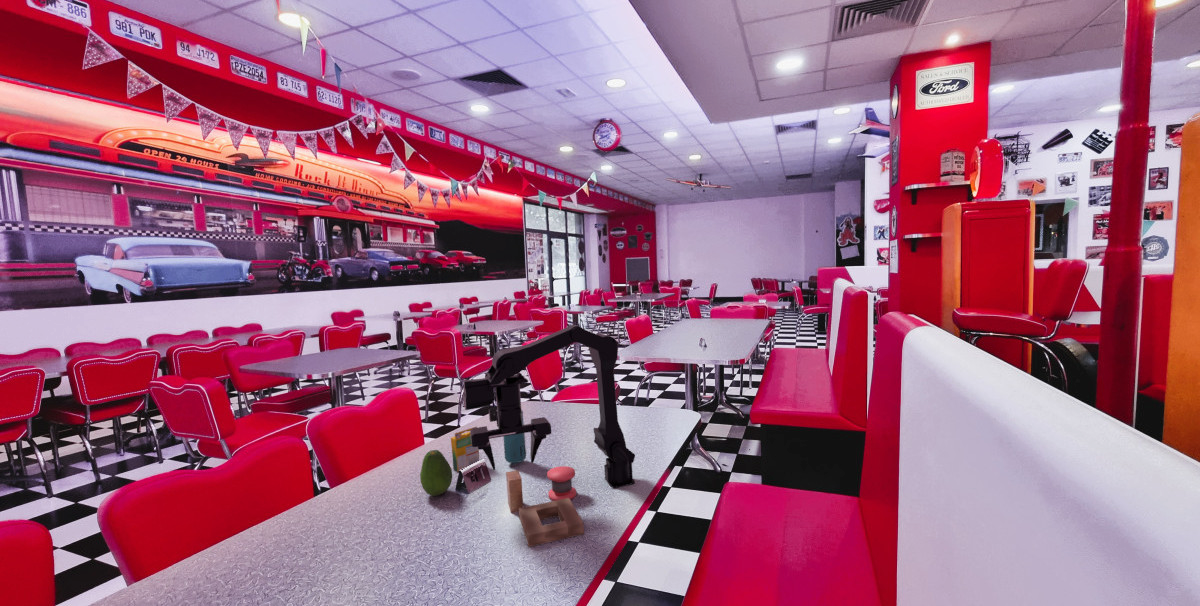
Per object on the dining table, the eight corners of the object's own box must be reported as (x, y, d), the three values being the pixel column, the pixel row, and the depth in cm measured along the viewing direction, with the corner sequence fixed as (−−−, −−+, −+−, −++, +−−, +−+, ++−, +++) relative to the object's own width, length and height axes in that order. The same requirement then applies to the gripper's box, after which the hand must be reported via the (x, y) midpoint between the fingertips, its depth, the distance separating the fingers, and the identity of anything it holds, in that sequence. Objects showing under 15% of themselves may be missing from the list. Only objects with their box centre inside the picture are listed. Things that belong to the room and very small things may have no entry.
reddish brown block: (520, 500, 119) (518, 470, 118) (523, 510, 114) (521, 478, 113) (508, 503, 118) (505, 472, 117) (511, 513, 113) (508, 480, 112)
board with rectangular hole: (569, 507, 114) (568, 497, 114) (583, 533, 103) (583, 522, 102) (519, 518, 110) (518, 508, 110) (528, 547, 99) (528, 535, 99)
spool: (572, 486, 125) (570, 464, 124) (579, 498, 118) (578, 475, 118) (546, 491, 123) (544, 469, 122) (552, 504, 116) (550, 480, 116)
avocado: (415, 498, 123) (411, 453, 122) (437, 485, 130) (434, 442, 129) (438, 504, 119) (434, 457, 118) (460, 490, 126) (457, 446, 125)
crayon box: (475, 461, 145) (472, 424, 144) (480, 464, 143) (477, 426, 142) (452, 469, 140) (449, 431, 139) (457, 472, 137) (454, 433, 136)
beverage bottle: (522, 468, 138) (518, 401, 136) (501, 467, 139) (496, 400, 138) (530, 459, 144) (526, 394, 143) (509, 458, 146) (505, 394, 144)
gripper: (540, 389, 124) (544, 447, 126) (466, 399, 118) (471, 460, 120) (549, 400, 114) (553, 463, 115) (469, 412, 108) (474, 478, 109)
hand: (513, 465), depth 115 cm, fingers open, 9 cm apart
